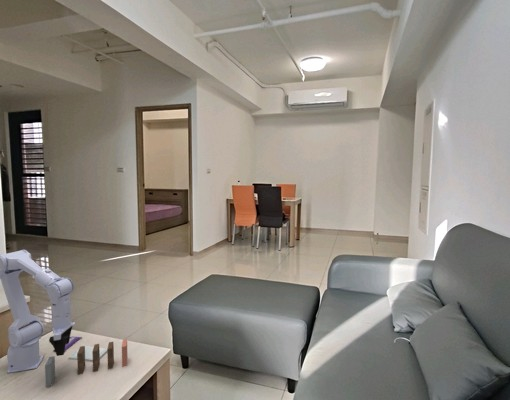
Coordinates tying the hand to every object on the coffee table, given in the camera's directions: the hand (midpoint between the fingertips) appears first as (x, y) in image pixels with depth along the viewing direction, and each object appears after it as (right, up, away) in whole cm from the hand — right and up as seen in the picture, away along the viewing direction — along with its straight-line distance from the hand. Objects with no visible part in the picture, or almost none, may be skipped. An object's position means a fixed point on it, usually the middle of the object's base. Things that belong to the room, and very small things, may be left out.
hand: (63, 349), depth 111 cm
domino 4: (+14, -10, +7) cm, 18 cm away
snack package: (-11, -9, +21) cm, 25 cm away
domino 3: (+9, -10, +5) cm, 15 cm away
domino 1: (-2, -10, -3) cm, 11 cm away
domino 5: (+19, -10, +9) cm, 23 cm away
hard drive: (+2, -10, +13) cm, 17 cm away
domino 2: (+5, -10, +4) cm, 11 cm away
